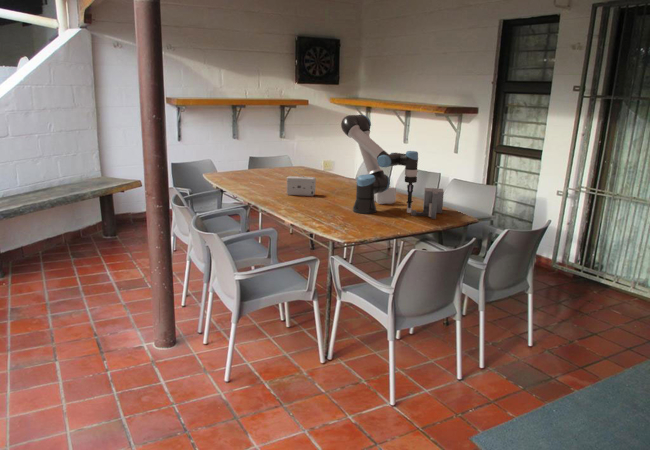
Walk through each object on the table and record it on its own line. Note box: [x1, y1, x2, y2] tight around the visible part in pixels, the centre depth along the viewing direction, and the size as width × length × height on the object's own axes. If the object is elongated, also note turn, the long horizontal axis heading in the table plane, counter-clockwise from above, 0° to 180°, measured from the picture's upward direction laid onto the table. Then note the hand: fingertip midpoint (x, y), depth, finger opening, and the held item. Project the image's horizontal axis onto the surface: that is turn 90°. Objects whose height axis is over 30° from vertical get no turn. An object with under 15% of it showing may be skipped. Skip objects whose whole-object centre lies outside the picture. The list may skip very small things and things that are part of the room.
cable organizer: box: [374, 185, 397, 205], centre depth 368 cm, size 15×11×12 cm
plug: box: [410, 203, 432, 218], centre depth 334 cm, size 15×4×8 cm, turn 80°
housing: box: [422, 187, 445, 220], centre depth 339 cm, size 12×29×16 cm, turn 171°
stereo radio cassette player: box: [286, 168, 317, 197], centre depth 386 cm, size 21×8×20 cm, turn 84°
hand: (408, 212), depth 336 cm, fingers closed
